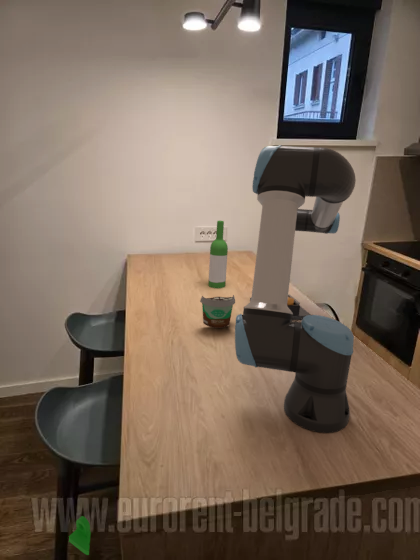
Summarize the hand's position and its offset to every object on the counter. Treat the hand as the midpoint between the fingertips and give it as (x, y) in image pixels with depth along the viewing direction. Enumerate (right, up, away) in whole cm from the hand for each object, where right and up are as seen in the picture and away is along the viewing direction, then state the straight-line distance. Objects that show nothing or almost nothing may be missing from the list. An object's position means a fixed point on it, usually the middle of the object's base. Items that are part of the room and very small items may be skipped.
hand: (275, 299), depth 152 cm
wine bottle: (-23, +4, +21) cm, 31 cm away
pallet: (+1, -4, -3) cm, 5 cm away
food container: (-23, -8, -21) cm, 32 cm away
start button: (+2, -2, -11) cm, 11 cm away
